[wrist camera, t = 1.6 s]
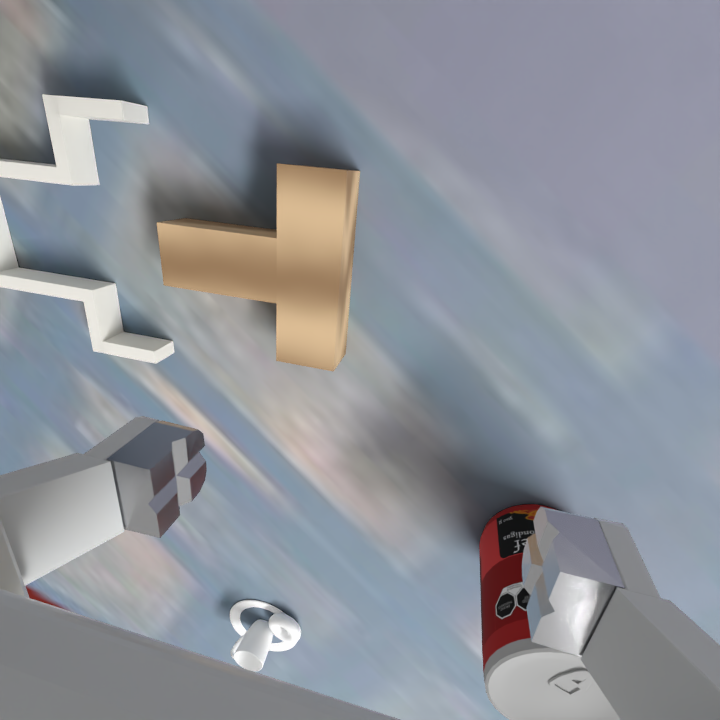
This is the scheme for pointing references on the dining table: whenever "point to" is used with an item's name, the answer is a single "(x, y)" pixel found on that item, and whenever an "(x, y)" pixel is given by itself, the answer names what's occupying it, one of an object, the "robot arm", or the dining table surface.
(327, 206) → the t block
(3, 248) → the t socket
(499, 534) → the canned food
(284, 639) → the white looped piece
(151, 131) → the dining table surface
